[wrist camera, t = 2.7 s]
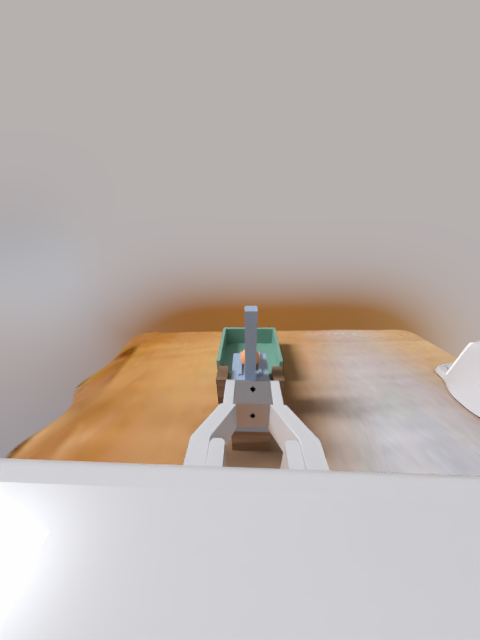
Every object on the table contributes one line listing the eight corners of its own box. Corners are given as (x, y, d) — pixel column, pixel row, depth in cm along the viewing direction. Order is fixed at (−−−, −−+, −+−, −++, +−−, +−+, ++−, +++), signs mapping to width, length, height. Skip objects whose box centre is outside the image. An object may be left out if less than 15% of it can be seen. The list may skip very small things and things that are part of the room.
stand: (290, 474, 24) (298, 440, 21) (210, 471, 25) (205, 437, 21) (275, 381, 38) (278, 350, 34) (223, 380, 38) (221, 350, 35)
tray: (280, 380, 38) (283, 361, 36) (218, 380, 39) (216, 360, 36) (273, 344, 49) (275, 327, 46) (224, 344, 49) (223, 327, 47)
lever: (276, 432, 24) (286, 346, 17) (225, 431, 24) (218, 346, 18) (266, 357, 36) (270, 291, 30) (233, 357, 36) (230, 291, 30)
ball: (253, 356, 35) (254, 341, 33) (262, 367, 32) (263, 352, 31) (237, 361, 34) (237, 346, 32) (245, 373, 31) (245, 358, 30)
